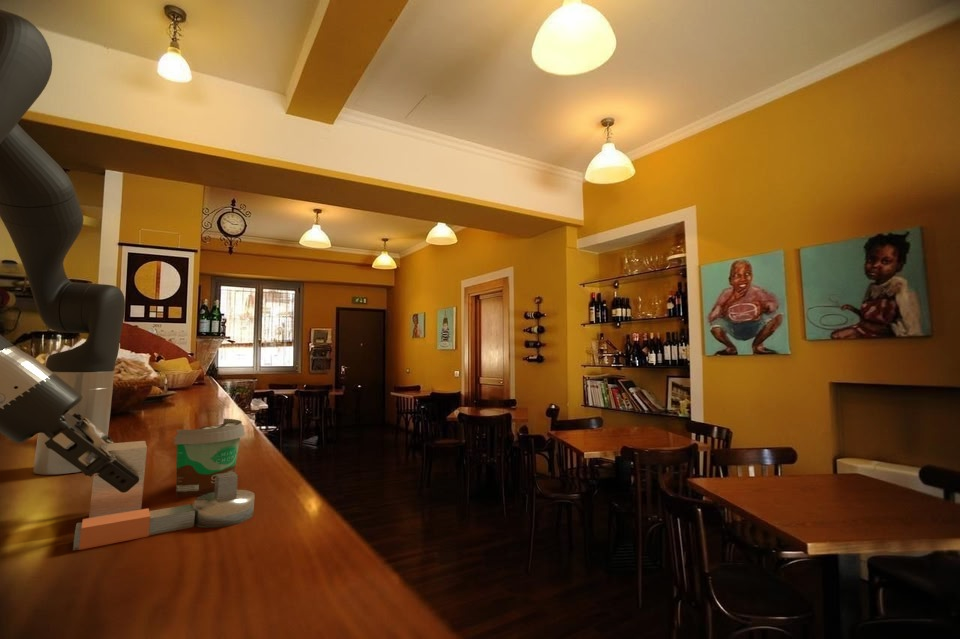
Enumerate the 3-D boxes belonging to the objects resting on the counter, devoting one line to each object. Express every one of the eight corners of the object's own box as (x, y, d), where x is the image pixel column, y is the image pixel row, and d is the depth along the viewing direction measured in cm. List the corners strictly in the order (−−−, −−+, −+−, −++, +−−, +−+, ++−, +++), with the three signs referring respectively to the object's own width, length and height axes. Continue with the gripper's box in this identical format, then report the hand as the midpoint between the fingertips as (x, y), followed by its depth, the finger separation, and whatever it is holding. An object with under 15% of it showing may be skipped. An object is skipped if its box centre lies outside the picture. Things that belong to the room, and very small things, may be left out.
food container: (210, 501, 62) (215, 431, 63) (168, 499, 63) (175, 430, 63) (255, 477, 75) (260, 419, 76) (221, 476, 75) (226, 418, 76)
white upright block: (89, 514, 56) (97, 444, 57) (138, 506, 59) (144, 440, 60) (88, 527, 52) (96, 451, 53) (140, 518, 56) (147, 447, 56)
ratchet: (75, 535, 50) (81, 486, 51) (246, 504, 62) (249, 465, 62) (71, 558, 45) (77, 503, 45) (259, 519, 56) (262, 476, 57)
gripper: (44, 374, 47) (163, 466, 54) (57, 368, 58) (154, 445, 64) (-37, 427, 43) (102, 519, 50) (-7, 410, 54) (104, 488, 61)
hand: (131, 478), depth 57 cm, fingers open, 8 cm apart
